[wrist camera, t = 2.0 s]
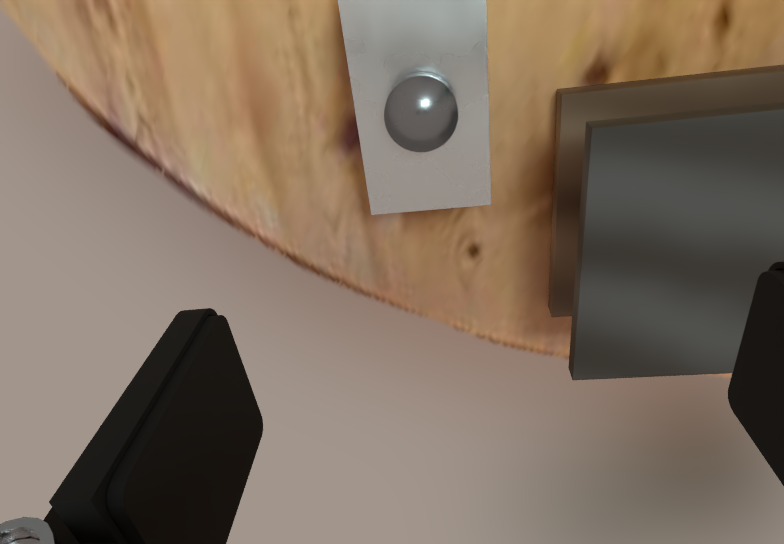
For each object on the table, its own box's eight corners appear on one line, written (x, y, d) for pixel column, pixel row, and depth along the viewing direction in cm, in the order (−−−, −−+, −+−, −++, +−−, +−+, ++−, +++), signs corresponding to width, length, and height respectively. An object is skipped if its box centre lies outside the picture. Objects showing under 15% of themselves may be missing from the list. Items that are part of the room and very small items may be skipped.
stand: (557, 89, 27) (592, 128, 22) (848, 57, 26) (972, 90, 20) (548, 306, 35) (572, 380, 29) (775, 292, 33) (850, 367, 27)
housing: (348, -43, 25) (326, -41, 20) (475, -61, 24) (487, -64, 19) (381, 196, 31) (372, 247, 26) (483, 188, 31) (494, 237, 25)
